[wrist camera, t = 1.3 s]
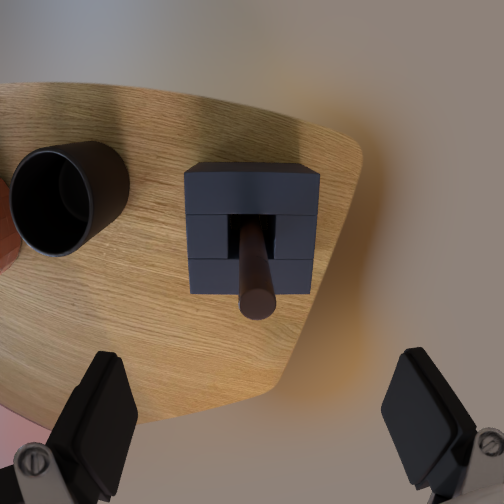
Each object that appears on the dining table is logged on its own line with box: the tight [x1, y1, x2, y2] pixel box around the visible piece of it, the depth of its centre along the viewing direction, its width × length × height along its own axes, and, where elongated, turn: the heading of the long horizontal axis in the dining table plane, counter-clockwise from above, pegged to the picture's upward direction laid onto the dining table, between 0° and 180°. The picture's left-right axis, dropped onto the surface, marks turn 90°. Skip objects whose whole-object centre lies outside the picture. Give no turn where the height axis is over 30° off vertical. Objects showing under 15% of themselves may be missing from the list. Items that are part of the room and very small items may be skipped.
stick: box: [238, 214, 276, 320], centre depth 23 cm, size 2×2×18 cm
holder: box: [184, 162, 320, 295], centre depth 28 cm, size 10×10×8 cm
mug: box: [9, 141, 130, 257], centre depth 25 cm, size 9×12×9 cm
